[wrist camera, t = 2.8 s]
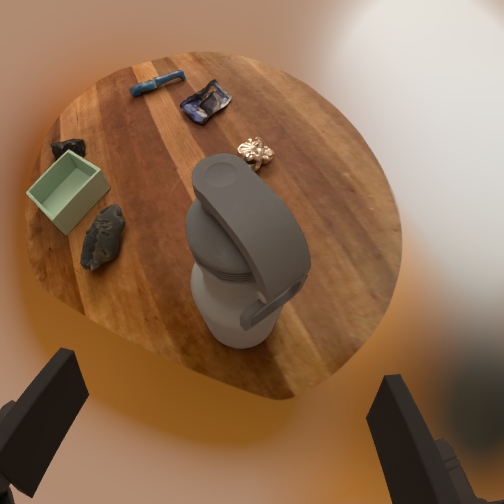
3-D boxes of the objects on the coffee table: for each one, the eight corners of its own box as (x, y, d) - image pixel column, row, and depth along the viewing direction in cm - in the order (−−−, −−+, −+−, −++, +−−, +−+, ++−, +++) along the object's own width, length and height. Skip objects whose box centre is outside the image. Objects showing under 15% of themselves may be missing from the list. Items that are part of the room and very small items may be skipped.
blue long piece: (183, 78, 70) (131, 98, 67) (180, 66, 67) (127, 86, 64) (187, 80, 67) (133, 101, 64) (184, 68, 64) (129, 89, 61)
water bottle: (291, 324, 41) (361, 213, 16) (235, 365, 39) (219, 317, 14) (247, 271, 45) (253, 117, 20) (193, 308, 42) (127, 181, 17)
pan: (66, 236, 47) (52, 220, 42) (38, 208, 50) (25, 192, 45) (110, 188, 52) (101, 169, 47) (78, 166, 55) (68, 149, 50)
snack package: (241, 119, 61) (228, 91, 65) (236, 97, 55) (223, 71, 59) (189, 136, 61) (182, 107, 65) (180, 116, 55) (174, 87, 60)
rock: (70, 138, 59) (62, 121, 54) (93, 148, 57) (85, 129, 52) (50, 158, 56) (40, 142, 51) (72, 170, 54) (62, 152, 49)
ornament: (271, 177, 53) (273, 163, 50) (234, 173, 53) (233, 159, 50) (275, 148, 57) (277, 134, 53) (240, 144, 57) (240, 130, 54)
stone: (136, 210, 50) (127, 191, 45) (113, 279, 44) (100, 265, 39) (104, 207, 50) (94, 190, 45) (80, 273, 44) (65, 259, 39)
